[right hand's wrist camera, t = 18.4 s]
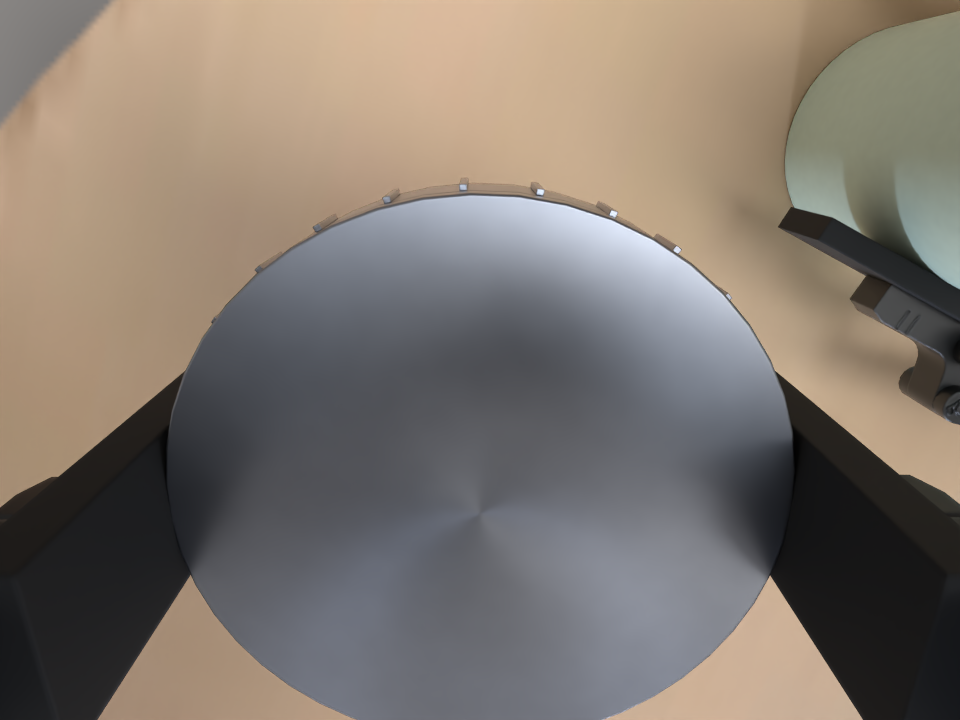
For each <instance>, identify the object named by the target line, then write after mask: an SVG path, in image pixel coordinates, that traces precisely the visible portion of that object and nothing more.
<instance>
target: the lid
mask: <svg viewBox="0 0 960 720" xmlns="http://www.w3.org/2000/svg"><path fill="white" fill-rule="evenodd" d="M617 214H618V212H617V211H615V210H614V209H612V208H611V207H609V206H608V205H606V204H604V203H602V202H600V201H598V203H597V205H596V206H595V205H593V204H590V203H587V202H584V201H581V200H578V199H575V198H572V197H569V196H566V195H562V194H559V193H556V192H552V191H546V190H544V189H543V188H542V187H541V186H540V185H539V184H538V183H535V182H531V188H530V187H524V186H518V185H509V184H485V183H468V178H461V181H460V184H456V185H445V186H435V187H428V188H424V189H420V190H415V191H411V192H407V193H402V194H400V191H399V189H395V190H392V191H391V192H390V193H388V194H387V195H386V196H384V197H383V198H382V200H380V201H377V202H374V203H372V204H369V205H367V206H364V207H361V208H359V209H356V210H354V211H351V212H350V213H348V214H346V215H344V216H342V217H341V218H339V219H338V218H337V216H336V215H335V214H334V215H332V216H330V217H328V218H327V219H325V220H323V221H322V222H320V223H319V224H317V225H315V226H314V227H313V229H314V230H315V232H314V233H313V234H311V235H310V236H308V237H307V238H305V239H303V240H302V241H300V242H299V243H297V244H296V245H294V246H293V247H291V248H290V249H288V250H287V251H286V252H285V253H282V252H280V253H278V254H277V255H275V256H274V257H272V258H270V259H269V260H267V261H266V262H264V263H263V264H261V265H259V266H258V267H257V268H256V269H255V271H256V272H257V274H256V275H255V276H254V277H253V278H252V279H251V280H250V281H249V282H248V283H247V284H246V285H245V286H244V287H243V288H242V289H241V290H240V291H239V292H238V293H237V294H236V295H235V296H234V297H233V298H232V299H231V300H230V301H229V302H228V303H227V304H226V306H225V307H224V308H223V310H222V311H221V313H220V314H218V315H217V316H216V317H214V319H213V320H212V322H211V323H213V324H212V325H211V326H210V328H209V329H208V331H207V332H206V333H205V335H204V336H203V338H202V339H201V341H200V343H199V345H198V347H197V349H196V351H195V353H194V355H193V357H192V359H191V361H190V363H189V365H188V367H187V369H186V371H185V373H184V375H183V378H182V381H181V384H180V387H179V391H178V394H177V397H176V400H175V403H174V406H173V409H172V414H171V420H170V426H169V433H168V439H167V445H166V489H167V495H168V500H169V506H170V511H171V517H172V522H173V527H174V531H175V535H176V538H177V541H178V545H179V548H180V551H181V554H182V556H183V559H184V561H185V563H186V565H187V567H188V569H189V572H190V574H191V576H192V578H193V580H194V583H195V585H196V586H197V588H198V590H199V591H200V593H201V594H202V596H203V597H204V599H205V601H206V602H207V604H208V605H209V607H210V608H211V610H212V612H213V613H214V615H215V616H216V617H217V618H218V620H219V621H220V622H221V623H222V624H223V626H224V627H225V628H226V629H227V630H228V632H229V633H230V634H231V635H232V636H233V638H234V639H235V640H236V641H237V642H238V643H239V644H240V645H241V646H242V647H243V648H244V649H245V650H246V651H247V652H248V653H250V654H251V655H252V656H253V657H254V658H255V659H256V660H257V661H258V662H259V663H260V664H261V665H262V666H264V667H265V668H266V669H268V670H269V671H270V672H272V673H273V674H274V675H276V676H277V677H279V678H280V679H281V680H283V681H284V682H285V683H287V684H288V685H289V686H291V687H293V688H294V689H296V690H298V691H299V692H301V693H303V694H305V695H306V696H308V697H310V698H311V699H313V700H315V701H316V702H318V703H320V704H322V705H324V706H327V707H329V708H331V709H333V710H335V711H338V712H340V713H342V714H344V715H346V716H349V717H351V718H354V719H357V720H603V719H606V718H609V717H611V716H614V715H617V714H619V713H622V712H624V711H626V710H628V709H630V708H632V707H634V706H636V705H638V704H640V703H642V702H644V701H646V700H648V699H650V698H652V697H654V696H655V695H657V694H658V693H660V692H661V691H663V690H665V689H666V688H668V687H669V686H671V685H672V684H674V683H675V682H677V681H679V680H680V679H682V678H683V677H684V676H685V675H687V674H688V673H689V672H690V671H692V670H693V669H694V668H695V667H696V666H698V665H699V664H700V663H701V662H703V661H704V660H705V659H706V658H707V657H709V656H710V655H711V654H712V653H713V652H714V651H715V650H716V649H717V647H718V646H719V645H720V644H721V643H722V642H723V641H724V640H725V639H726V638H727V637H728V636H729V635H730V634H731V633H732V632H733V631H734V630H735V628H736V627H737V626H738V624H739V623H740V622H741V620H742V619H743V618H744V616H745V615H746V614H747V612H748V611H749V610H750V608H751V607H752V606H753V604H754V603H755V601H756V599H757V597H758V596H759V594H760V592H761V590H762V589H763V587H764V585H765V583H766V581H767V580H768V578H769V576H770V574H771V572H772V570H773V567H774V565H775V562H776V560H777V557H778V555H779V552H780V550H781V547H782V545H783V542H784V539H785V534H786V529H787V525H788V520H789V515H790V510H791V505H792V499H793V493H794V481H795V456H794V441H793V431H792V426H791V422H790V417H789V413H788V408H787V404H786V399H785V395H784V393H783V390H782V388H781V385H780V383H779V380H778V378H777V375H776V373H775V370H774V368H773V365H772V362H771V360H770V358H769V356H768V355H767V353H766V351H765V349H764V348H763V346H762V345H761V343H760V341H759V339H758V338H757V336H756V334H755V333H754V331H753V329H752V327H751V326H750V324H749V323H748V322H747V321H746V319H745V318H744V317H743V316H742V314H741V313H740V312H739V311H738V310H737V308H736V307H735V306H734V305H733V303H732V302H731V301H730V300H731V299H732V297H731V296H730V295H729V294H728V293H727V292H726V291H724V290H723V289H721V288H720V287H718V286H717V285H715V284H714V283H713V282H712V281H710V280H709V279H708V278H707V277H706V276H705V275H704V274H703V273H702V272H701V271H699V270H698V269H697V268H696V267H695V266H694V265H693V264H692V263H690V262H689V261H688V260H686V259H685V258H683V257H682V256H680V255H679V253H680V251H681V250H682V249H681V248H679V247H678V246H677V245H675V244H673V243H672V242H670V241H669V240H667V239H665V238H664V237H662V236H660V235H659V234H656V236H655V237H654V238H653V237H652V236H650V235H649V234H647V233H646V232H644V231H643V230H641V229H640V228H638V227H636V226H635V225H633V224H632V223H630V222H628V221H626V220H624V219H622V218H620V217H618V216H617Z"/></svg>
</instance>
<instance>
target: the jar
mask: <svg viewBox="0 0 960 720" xmlns="http://www.w3.org/2000/svg"><path fill="white" fill-rule="evenodd" d="M785 176H786V182H787V187H788V192H789V195H790V198H791V201H792V204H793V206H794V208H797V209H801V210H805V211H809V212H813V213H817V214H821V215H825V216H829V217H833V218H835V219H836V220H838V221H840V222H842V223H844V224H845V225H847V226H849V227H851V228H852V229H854V230H856V231H858V232H859V233H861V234H863V235H865V236H866V237H868V238H870V239H872V240H873V241H875V242H877V243H879V244H881V245H882V246H884V247H886V248H888V249H889V250H891V251H893V252H895V253H896V254H898V255H900V256H902V257H903V258H905V259H907V260H909V261H911V262H912V263H914V264H916V265H918V266H919V267H921V268H923V269H925V270H926V271H928V272H930V273H932V274H933V275H935V276H937V277H939V278H940V279H942V280H944V281H946V282H947V283H949V284H951V285H953V286H955V287H956V288H958V289H960V11H957V12H952V13H948V14H944V15H940V16H936V17H931V18H927V19H923V20H919V21H915V22H911V23H906V24H902V25H898V26H894V27H890V28H887V29H884V30H881V31H879V32H876V33H873V34H871V35H870V36H868V37H866V38H864V39H862V40H860V41H858V42H857V43H855V44H854V45H852V46H851V47H849V48H848V49H846V50H845V51H844V52H842V53H841V54H840V55H839V56H838V57H836V58H835V59H834V60H833V61H832V62H831V63H830V64H829V65H828V66H827V67H826V68H825V69H824V70H823V71H822V72H821V73H820V75H819V76H818V77H817V79H816V80H815V81H814V83H813V84H812V85H811V87H810V88H809V90H808V91H807V93H806V95H805V96H804V98H803V100H802V101H801V103H800V105H799V108H798V110H797V112H796V114H795V116H794V119H793V122H792V125H791V128H790V131H789V135H788V140H787V145H786V154H785Z"/></svg>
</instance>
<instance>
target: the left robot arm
mask: <svg viewBox="0 0 960 720" xmlns="http://www.w3.org/2000/svg"><path fill="white" fill-rule="evenodd" d="M778 227H779V228H781V229H783V230H784V231H786V232H788V233H790V234H792V235H793V236H795V237H797V238H799V239H801V240H802V241H804V242H806V243H808V244H810V245H811V246H813V247H815V248H817V249H819V250H820V251H822V252H824V253H826V254H828V255H829V256H831V257H833V258H835V259H837V260H838V261H840V262H842V263H844V264H846V265H847V266H849V267H851V268H853V269H855V270H856V271H858V272H860V273H862V274H864V275H865V276H866V277H865V278H864V280H863V281H862V283H861V284H860V285H859V287H858V288H857V290H856V291H855V292H854V294H853V295H852V297H851V298H850V300H851V302H852V303H853V304H854V306H855V307H856V309H857V310H858V311H860V312H862V313H864V314H865V315H867V316H869V317H871V318H873V319H875V320H876V321H878V322H880V323H882V324H884V325H886V326H888V327H889V328H891V329H893V330H895V331H897V332H899V333H900V334H902V335H904V336H906V337H908V338H910V339H911V340H912V341H914V342H915V344H916V345H917V348H918V358H917V361H916V364H915V366H914V367H911V368H909V369H907V370H906V371H905V372H904V373H903V374H902V376H901V377H900V380H899V388H900V390H901V391H902V393H904V394H906V395H907V396H909V397H910V398H912V399H913V400H915V401H917V402H918V403H920V404H921V405H923V406H925V407H926V408H928V409H930V410H931V411H933V412H934V413H936V414H938V415H939V416H941V417H943V418H944V419H946V420H948V421H950V422H952V423H955V424H959V425H960V289H958V288H956V287H955V286H953V285H951V284H949V283H947V282H946V281H944V280H942V279H940V278H939V277H937V276H935V275H933V274H932V273H930V272H928V271H926V270H925V269H923V268H921V267H919V266H918V265H916V264H914V263H912V262H911V261H909V260H907V259H905V258H903V257H902V256H900V255H898V254H896V253H895V252H893V251H891V250H889V249H888V248H886V247H884V246H882V245H881V244H879V243H877V242H875V241H873V240H872V239H870V238H868V237H866V236H865V235H863V234H861V233H859V232H858V231H856V230H854V229H852V228H851V227H849V226H847V225H845V224H844V223H842V222H840V221H838V220H836V219H835V218H833V217H829V216H825V215H821V214H817V213H813V212H809V211H805V210H801V209H797V208H793V207H791V208H790V209H789V211H788V213H787V214H786V216H785V217H784V219H783V220H782V222H781V223H780V225H779V226H778Z"/></svg>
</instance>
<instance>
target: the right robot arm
mask: <svg viewBox="0 0 960 720" xmlns="http://www.w3.org/2000/svg"><path fill="white" fill-rule="evenodd" d="M184 373H185V372H183V373H182V374H181V375H180V376H179V377H177V378H176V379H175V380H174V381H173V382H172V383H170V384H169V385H168V386H167V387H166V388H164V389H163V390H162V391H161V392H160V393H158V394H157V395H156V396H155V397H154V398H152V399H151V400H150V401H149V402H148V403H146V404H145V405H144V406H143V407H142V408H140V409H139V410H138V411H137V412H136V413H134V414H133V415H132V416H131V417H130V418H128V419H127V420H126V421H125V422H124V423H122V424H121V425H120V426H119V427H118V428H116V429H115V430H114V431H113V432H112V433H110V434H109V435H108V436H107V437H106V438H105V439H103V440H102V441H101V442H100V443H99V444H97V445H96V446H95V447H94V448H93V449H91V450H90V451H89V452H88V453H87V454H85V455H84V456H83V457H82V458H81V459H79V460H78V461H77V462H76V463H75V464H73V465H72V466H71V467H70V468H69V469H67V470H66V471H65V472H64V473H63V474H61V475H60V476H59V477H51V478H49V479H47V480H45V481H43V482H41V483H39V484H37V485H35V486H33V487H31V488H29V489H27V490H25V491H23V492H21V493H19V494H17V495H16V496H14V497H13V498H12V499H11V500H9V501H8V502H7V503H6V504H4V505H3V506H2V507H1V508H0V720H97V719H98V718H99V716H100V715H101V713H102V712H103V710H104V709H105V707H106V705H107V704H108V702H109V701H110V699H111V698H112V696H113V695H114V693H115V691H116V690H117V688H118V687H119V685H120V684H121V682H122V681H123V679H124V677H125V676H126V674H127V673H128V671H129V670H130V668H131V667H132V665H133V663H134V662H135V660H136V659H137V657H138V656H139V654H140V653H141V651H142V649H143V648H144V646H145V645H146V643H147V642H148V640H149V639H150V637H151V635H152V634H153V632H154V631H155V629H156V628H157V626H158V625H159V623H160V621H161V620H162V618H163V617H164V615H165V614H166V612H167V611H168V609H169V607H170V606H171V604H172V603H173V601H174V600H175V598H176V597H177V595H178V593H179V592H180V590H181V589H182V587H183V586H184V584H185V583H186V581H187V579H188V578H189V576H190V575H191V574H190V572H189V569H188V567H187V565H186V563H185V561H184V559H183V556H182V554H181V551H180V548H179V545H178V541H177V538H176V535H175V531H174V527H173V522H172V517H171V511H170V506H169V500H168V495H167V489H166V445H167V439H168V433H169V426H170V420H171V414H172V409H173V406H174V403H175V400H176V397H177V394H178V391H179V387H180V384H181V381H182V378H183V375H184ZM775 373H776V375H777V378H778V380H779V383H780V385H781V388H782V390H783V393H784V395H785V399H786V404H787V408H788V413H789V417H790V422H791V426H792V431H793V441H794V456H795V481H794V493H793V499H792V505H791V510H790V515H789V520H788V525H787V529H786V534H785V539H784V542H783V545H782V547H781V550H780V552H779V555H778V557H777V560H776V562H775V565H774V567H773V570H772V572H771V574H770V576H771V577H772V579H773V580H774V582H775V583H776V585H777V587H778V588H779V590H780V591H781V593H782V594H783V596H784V597H785V599H786V601H787V602H788V604H789V605H790V607H791V608H792V610H793V611H794V613H795V615H796V616H797V618H798V619H799V621H800V622H801V624H802V625H803V627H804V629H805V630H806V632H807V633H808V635H809V636H810V638H811V639H812V641H813V643H814V644H815V646H816V647H817V649H818V650H819V652H820V653H821V655H822V657H823V658H824V660H825V661H826V663H827V664H828V666H829V667H830V669H831V671H832V672H833V674H834V675H835V677H836V678H837V680H838V681H839V683H840V685H841V686H842V688H843V689H844V691H845V692H846V694H847V695H848V697H849V699H850V700H851V702H852V703H853V705H854V706H855V708H856V709H857V711H858V713H859V714H860V716H861V717H862V719H863V720H960V504H959V503H957V502H956V501H955V500H954V499H952V498H951V497H950V496H949V495H947V494H946V493H945V492H943V491H941V490H939V489H937V488H935V487H933V486H931V485H929V484H927V483H925V482H923V481H921V480H919V479H917V478H915V477H913V476H911V475H899V474H898V473H897V472H895V471H894V470H893V469H892V468H891V467H889V466H888V465H887V464H886V463H885V462H883V461H882V460H881V459H880V458H879V457H877V456H876V455H875V454H874V453H873V452H872V451H870V450H869V449H868V448H867V447H866V446H864V445H863V444H862V443H861V442H860V441H858V440H857V439H856V438H855V437H854V436H852V435H851V434H850V433H849V432H848V431H846V430H845V429H844V428H843V427H842V426H840V425H839V424H838V423H837V422H836V421H834V420H833V419H832V418H831V417H830V416H828V415H827V414H826V413H825V412H824V411H822V410H821V409H820V408H819V407H818V406H816V405H815V404H814V403H813V402H812V401H810V400H809V399H808V398H807V397H806V396H804V395H803V394H802V393H801V392H800V391H799V390H797V389H796V388H795V387H794V386H793V385H791V384H790V383H789V382H788V381H787V380H785V379H784V378H783V377H782V376H781V375H779V374H778V373H777V372H776V371H775Z"/></svg>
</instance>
